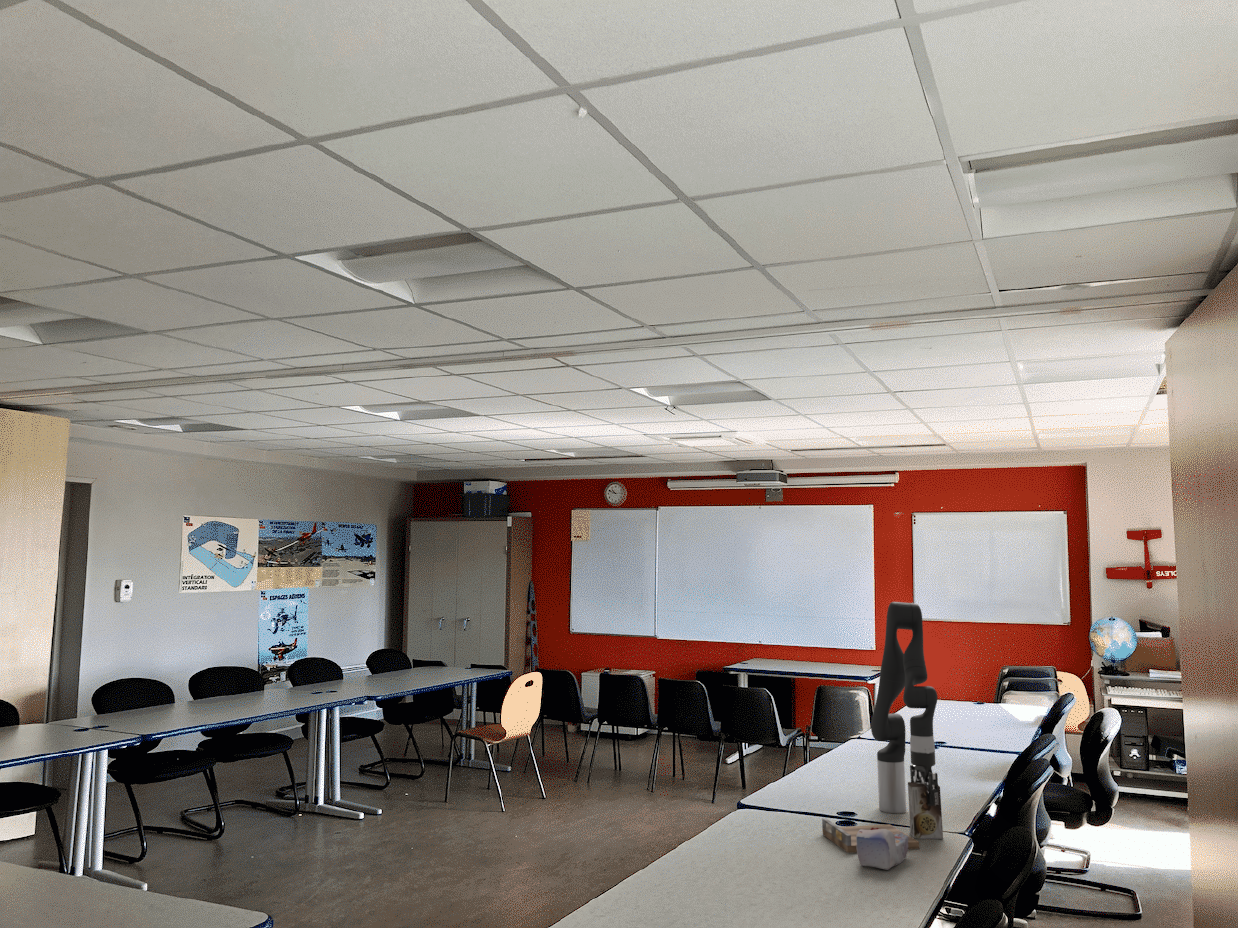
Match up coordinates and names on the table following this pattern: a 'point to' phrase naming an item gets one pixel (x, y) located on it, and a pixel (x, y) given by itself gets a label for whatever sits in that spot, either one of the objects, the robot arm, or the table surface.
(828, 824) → the shelf board
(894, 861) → the cell model
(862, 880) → the table surface
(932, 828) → the coffee box
